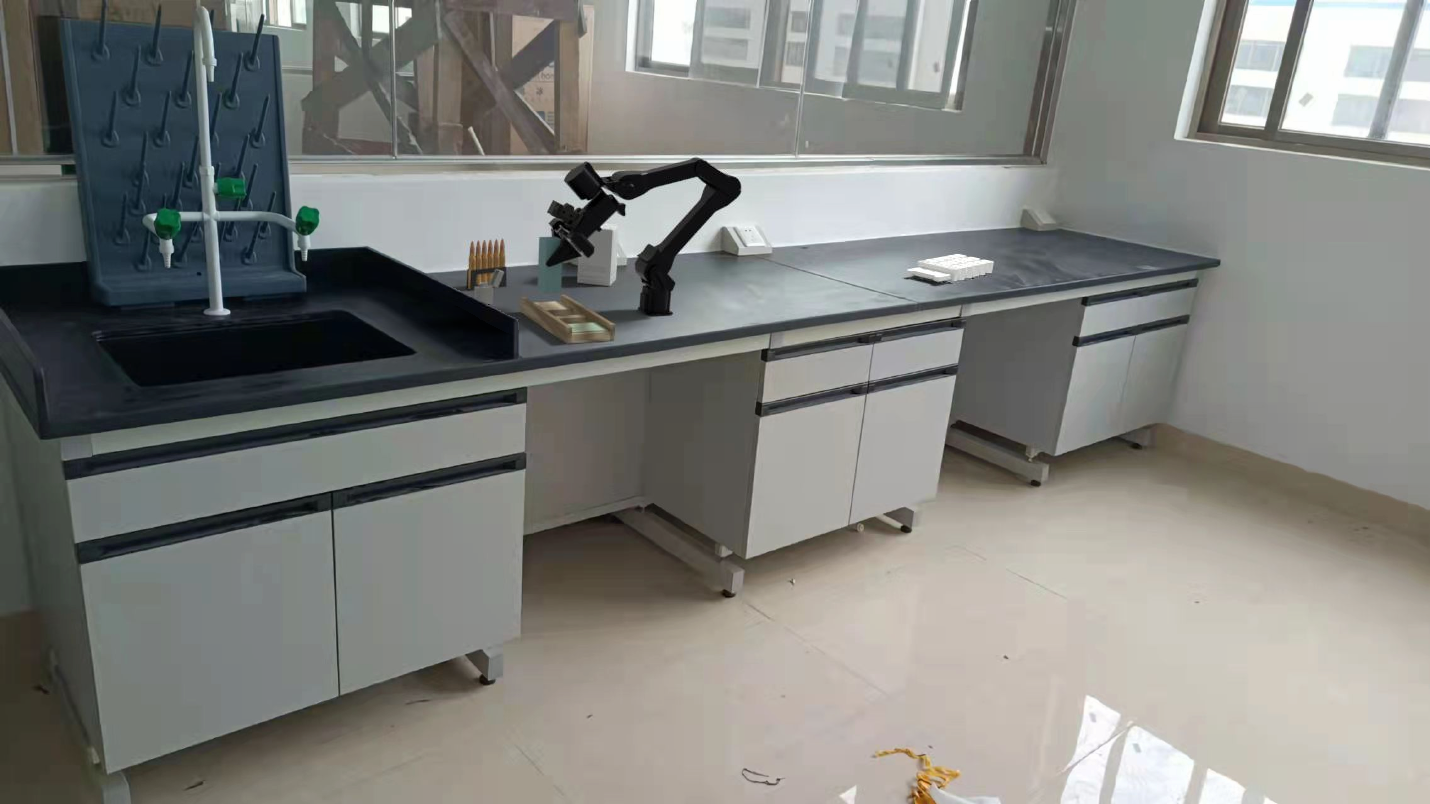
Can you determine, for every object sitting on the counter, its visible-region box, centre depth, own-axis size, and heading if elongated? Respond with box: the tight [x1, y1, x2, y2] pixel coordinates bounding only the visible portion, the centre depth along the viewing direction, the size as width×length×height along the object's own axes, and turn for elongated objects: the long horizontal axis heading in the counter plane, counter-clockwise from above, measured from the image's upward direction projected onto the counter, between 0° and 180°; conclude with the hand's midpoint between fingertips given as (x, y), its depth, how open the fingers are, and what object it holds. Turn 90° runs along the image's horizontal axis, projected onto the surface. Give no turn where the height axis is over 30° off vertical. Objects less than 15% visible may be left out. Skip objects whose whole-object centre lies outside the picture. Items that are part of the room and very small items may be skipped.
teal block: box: [537, 236, 563, 295], centre depth 225 cm, size 4×4×12 cm
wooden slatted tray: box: [519, 294, 616, 345], centre depth 221 cm, size 11×26×4 cm, turn 32°
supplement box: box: [576, 222, 620, 287], centre depth 262 cm, size 9×9×15 cm
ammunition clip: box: [466, 238, 508, 292], centre depth 245 cm, size 11×2×12 cm, turn 138°
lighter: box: [473, 269, 504, 306], centre depth 231 cm, size 7×2×8 cm, turn 138°
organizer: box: [905, 253, 995, 283], centre depth 317 cm, size 13×5×35 cm
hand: (544, 263), depth 224 cm, fingers closed on teal block, 4 cm apart
